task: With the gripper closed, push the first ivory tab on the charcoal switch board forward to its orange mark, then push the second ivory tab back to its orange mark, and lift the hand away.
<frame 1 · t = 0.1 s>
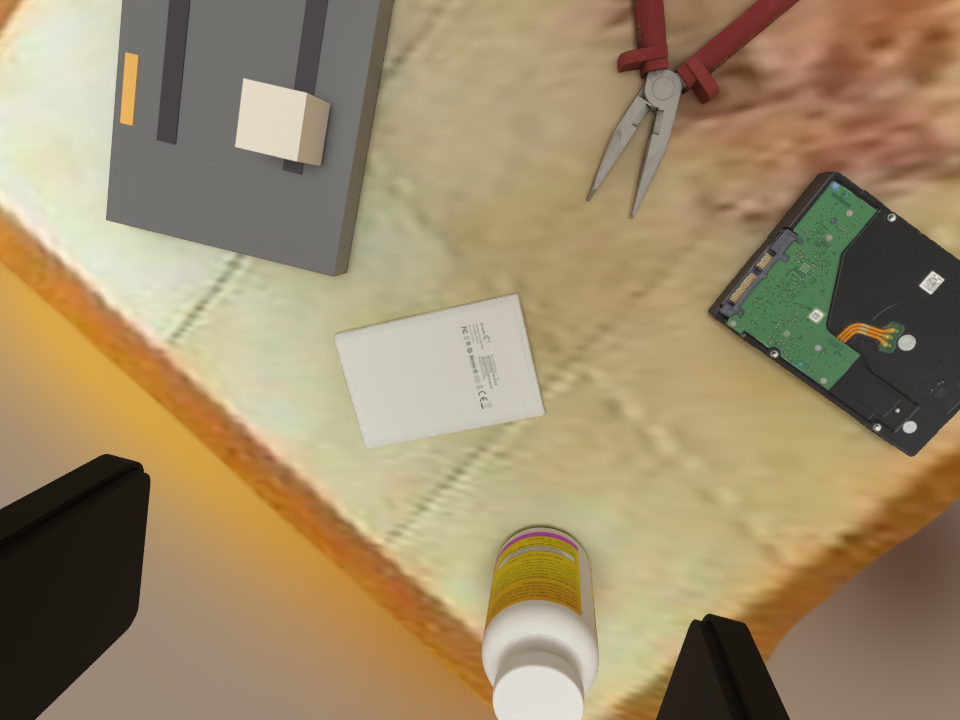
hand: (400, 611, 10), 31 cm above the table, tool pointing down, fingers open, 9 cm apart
external hard drive: (443, 369, 43), on the table
supplement bottle: (543, 565, 45), on the table
switch board: (260, 69, 39), on the table
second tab: (284, 124, 35), point 5 cm above the table, slide at 10.0 cm
disk drive: (853, 312, 39), on the table
pliers: (664, 13, 36), on the table
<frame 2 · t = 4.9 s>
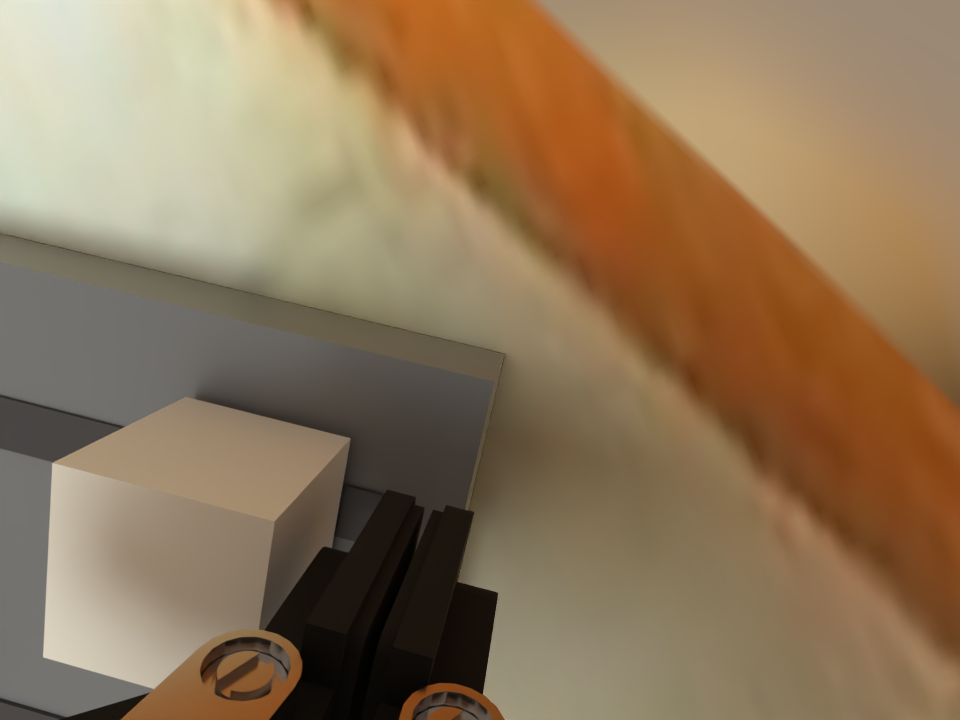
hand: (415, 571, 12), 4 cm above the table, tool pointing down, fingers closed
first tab: (212, 536, 11), point 5 cm above the table, slide at 0.3 cm, touching gripper
switch board: (52, 520, 17), on the table
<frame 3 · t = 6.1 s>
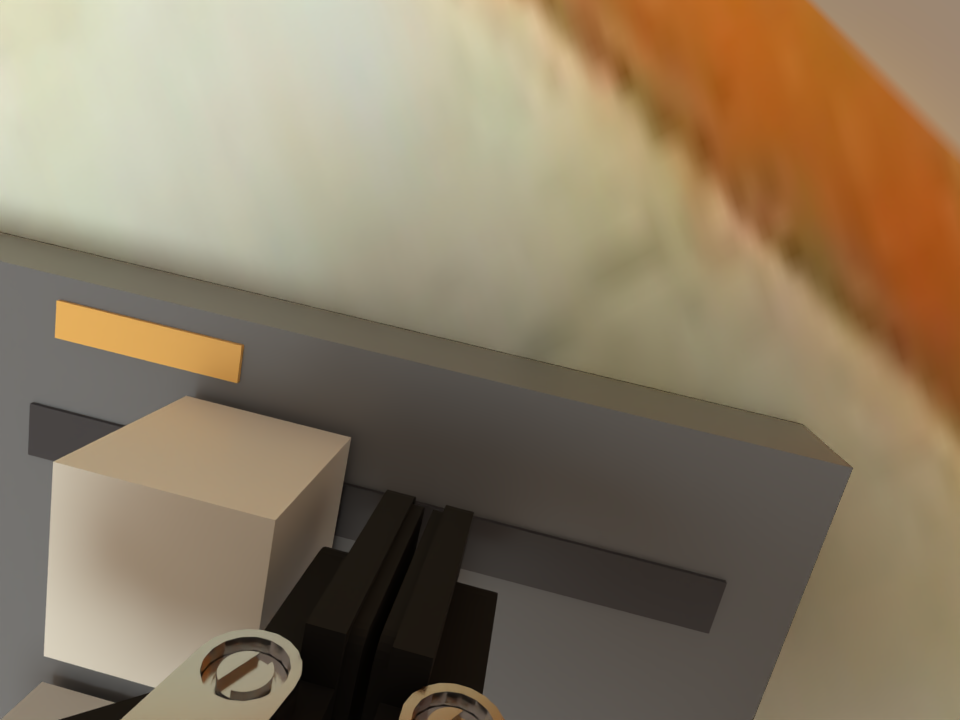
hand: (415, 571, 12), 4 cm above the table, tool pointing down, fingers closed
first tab: (212, 535, 11), point 5 cm above the table, slide at 7.2 cm, touching gripper
switch board: (293, 584, 17), on the table
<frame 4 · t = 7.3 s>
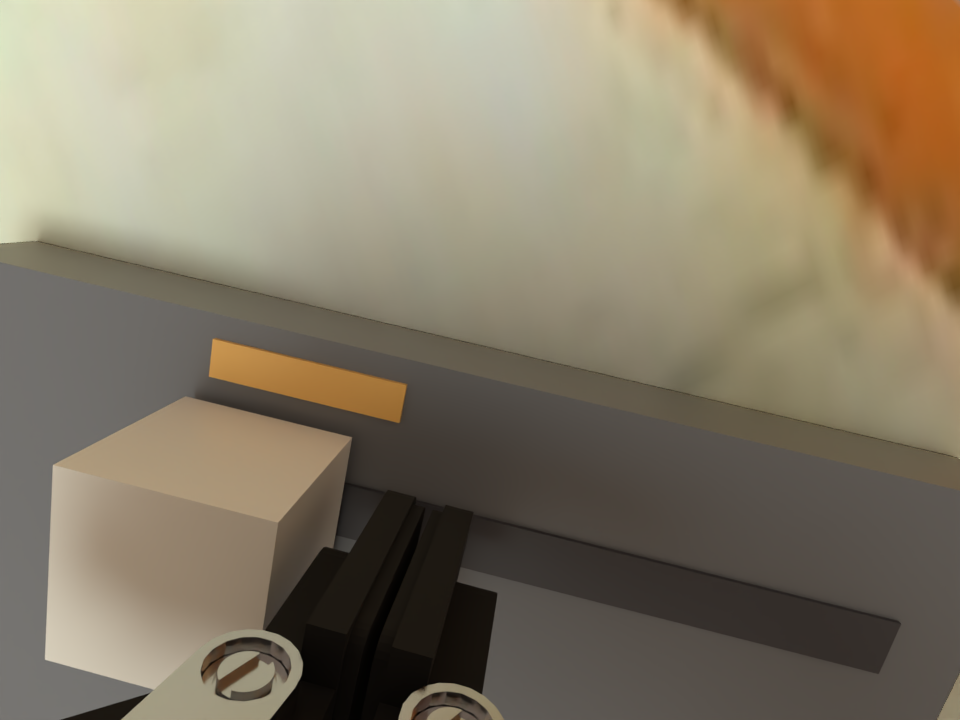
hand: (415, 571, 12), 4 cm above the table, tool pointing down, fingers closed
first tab: (214, 537, 11), point 5 cm above the table, slide at 10.6 cm, touching gripper
switch board: (417, 616, 17), on the table
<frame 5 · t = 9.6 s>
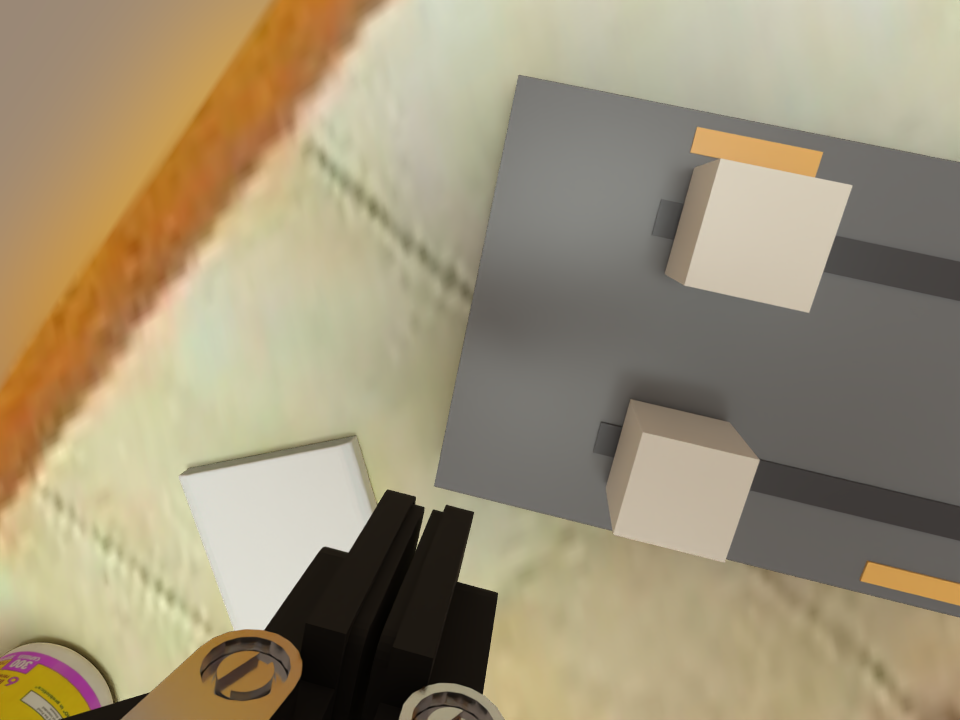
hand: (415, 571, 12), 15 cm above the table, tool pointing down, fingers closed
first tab: (747, 234, 19), point 5 cm above the table, slide at 10.0 cm
external hard drive: (316, 568, 30), on the table
supplement bottle: (62, 689, 33), on the table
switch board: (760, 352, 24), on the table
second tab: (674, 475, 21), point 5 cm above the table, slide at 10.0 cm
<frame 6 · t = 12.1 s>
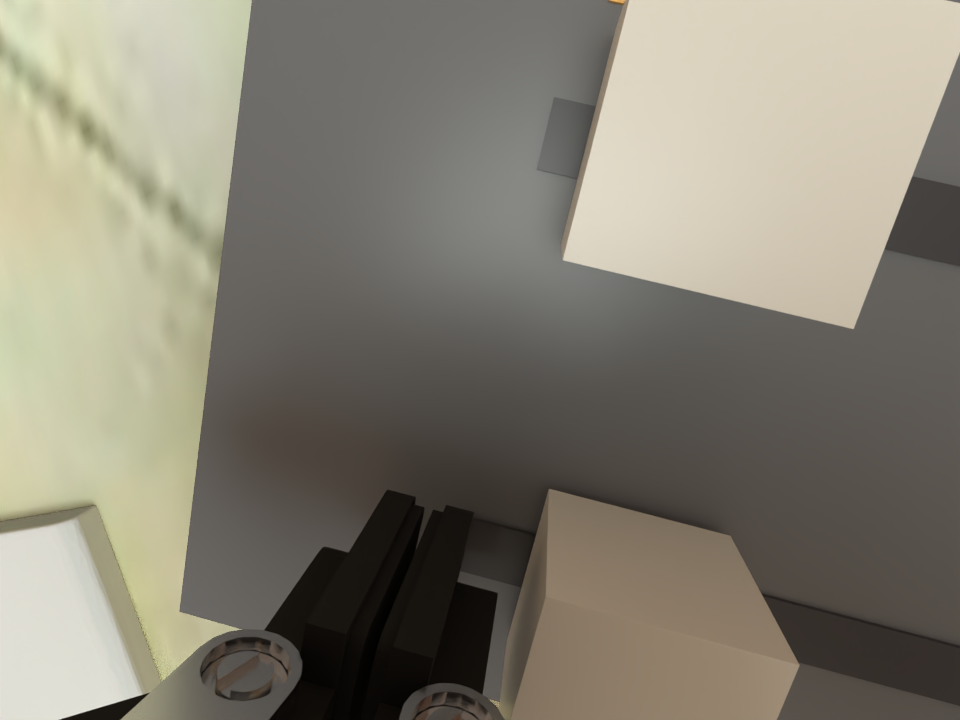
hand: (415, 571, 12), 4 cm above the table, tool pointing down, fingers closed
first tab: (716, 156, 9), point 5 cm above the table, slide at 10.0 cm
external hard drive: (65, 696, 19), on the table
switch board: (745, 388, 14), on the table
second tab: (622, 650, 11), point 5 cm above the table, slide at 9.1 cm, touching gripper
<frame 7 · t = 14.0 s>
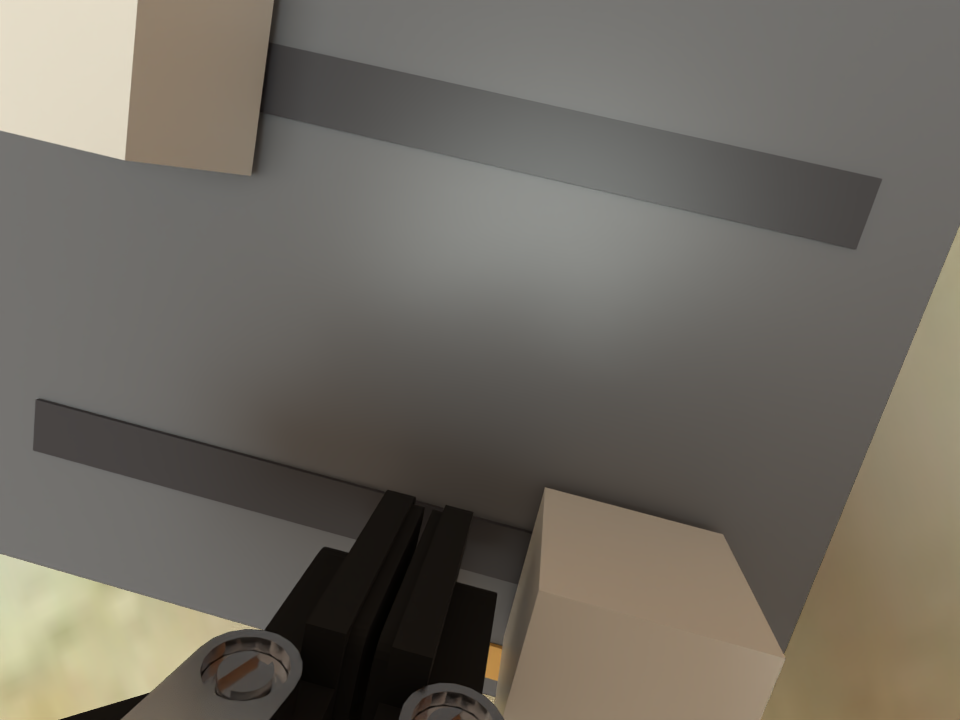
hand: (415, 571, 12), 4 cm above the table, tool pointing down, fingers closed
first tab: (104, 27, 10), point 5 cm above the table, slide at 10.0 cm
switch board: (346, 292, 15), on the table
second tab: (615, 645, 11), point 5 cm above the table, slide at -0.2 cm, touching gripper
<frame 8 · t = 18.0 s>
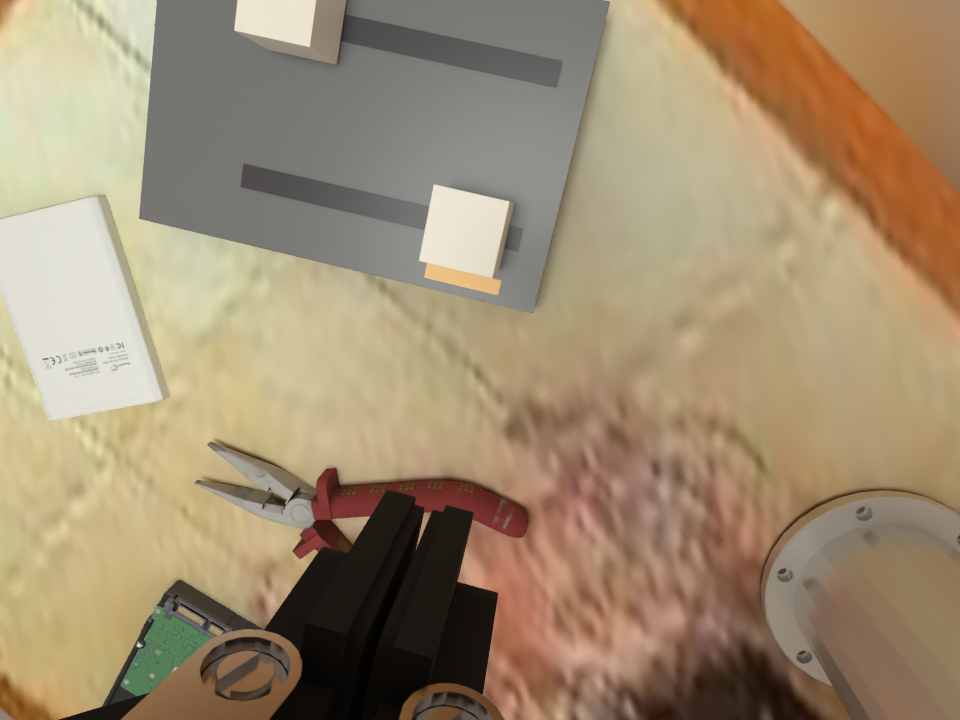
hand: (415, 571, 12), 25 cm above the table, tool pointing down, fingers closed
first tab: (293, 8, 29), point 5 cm above the table, slide at 10.0 cm
external hard drive: (89, 310, 40), on the table
switch board: (369, 125, 34), on the table
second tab: (468, 230, 30), point 5 cm above the table, slide at 0.0 cm
disk drive: (204, 684, 45), on the table
pliers: (381, 503, 40), on the table
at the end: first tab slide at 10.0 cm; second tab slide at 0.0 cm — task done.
